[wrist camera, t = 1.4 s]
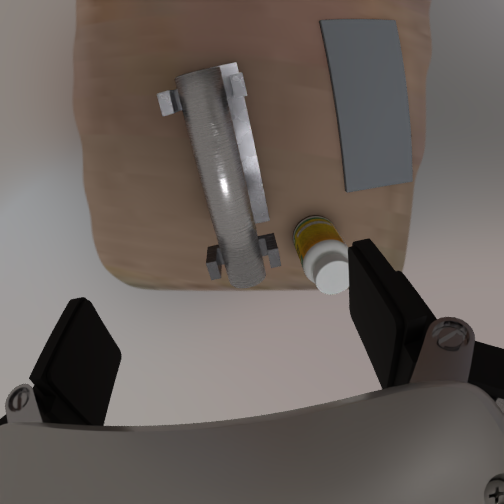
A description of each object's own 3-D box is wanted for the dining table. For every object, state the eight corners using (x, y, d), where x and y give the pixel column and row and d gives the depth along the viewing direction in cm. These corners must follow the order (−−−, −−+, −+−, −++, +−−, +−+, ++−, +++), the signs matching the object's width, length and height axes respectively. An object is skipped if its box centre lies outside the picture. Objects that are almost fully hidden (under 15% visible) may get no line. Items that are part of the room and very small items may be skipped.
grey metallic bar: (178, 79, 19) (170, 78, 17) (220, 68, 19) (219, 65, 16) (229, 270, 27) (229, 291, 25) (263, 263, 27) (267, 283, 24)
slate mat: (319, 21, 26) (320, 20, 25) (392, 21, 25) (395, 20, 25) (345, 190, 36) (347, 192, 35) (410, 179, 35) (412, 181, 35)
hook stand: (178, 76, 28) (148, 71, 17) (236, 62, 28) (239, 47, 17) (218, 228, 37) (214, 297, 26) (268, 217, 37) (286, 282, 26)
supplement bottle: (341, 237, 39) (369, 280, 31) (307, 261, 40) (326, 309, 32) (319, 205, 37) (345, 244, 28) (283, 231, 38) (298, 277, 30)
